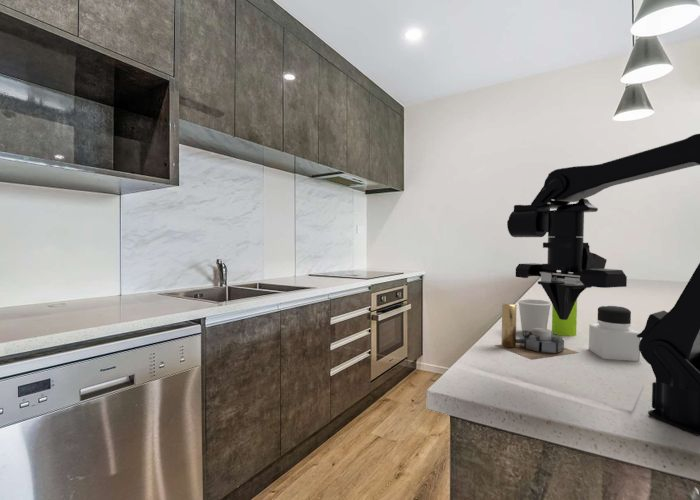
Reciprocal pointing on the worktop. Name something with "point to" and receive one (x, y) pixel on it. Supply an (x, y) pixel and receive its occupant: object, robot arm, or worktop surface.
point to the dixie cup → (534, 313)
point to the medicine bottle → (614, 335)
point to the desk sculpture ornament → (526, 334)
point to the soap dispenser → (565, 322)
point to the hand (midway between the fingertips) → (563, 319)
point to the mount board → (532, 354)
